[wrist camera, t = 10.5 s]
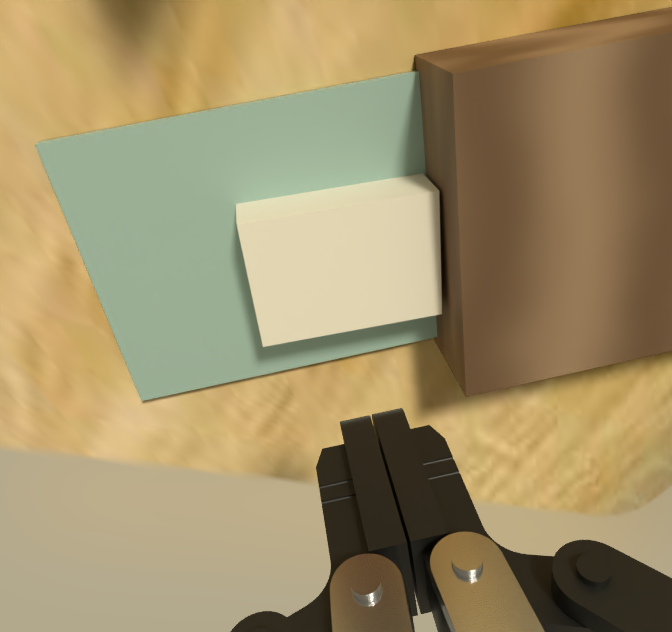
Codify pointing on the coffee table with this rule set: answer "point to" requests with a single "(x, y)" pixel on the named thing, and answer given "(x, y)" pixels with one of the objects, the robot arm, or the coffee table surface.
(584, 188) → the wooden block
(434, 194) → the tile
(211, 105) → the coffee table surface
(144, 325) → the mat
